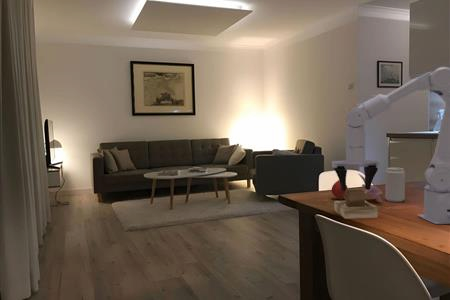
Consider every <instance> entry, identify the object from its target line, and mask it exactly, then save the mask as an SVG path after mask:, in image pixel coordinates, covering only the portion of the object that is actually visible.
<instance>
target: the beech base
mask: <svg viewBox="0 0 450 300" xmlns="http://www.w3.org/2000/svg"><path fill="white" fill-rule="evenodd" d="M333 205H334V206H333V209H334V212H336V214H338V215H339V216H341V217H342V218H344V219H345V220H347V219H348V220H349V219H350V220H351V219H378V214H379V213H378V211H379V208H378V206H377V205H375V204H372V203H371V202H368V201H367V200H365V207H348V206H346V205H345V200H334V203H333Z"/></svg>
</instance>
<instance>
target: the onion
mask: <svg viewBox="0 0 450 300" xmlns="http://www.w3.org/2000/svg"><path fill="white" fill-rule="evenodd" d="M346 190H348V185H347V184H346ZM345 192H346V191H343V190H341V184H340V181H339V179H338V180H337V181H335V182H334V183H333V185H332V186H331V193H332V195H333V196H334V197H335V198H336V199H338V201H342V200H343V198H344V199H345Z"/></svg>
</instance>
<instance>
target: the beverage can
mask: <svg viewBox="0 0 450 300" xmlns="http://www.w3.org/2000/svg"><path fill="white" fill-rule="evenodd" d="M405 178H406V172H405V169H404V168H402V167H387V168H386V170H385V184H384V185H385V195H384V197H385V200H387V202H390V203H391V202H392V203H401V202H403V201H405V194H406V193H405V192H406V191H405V190H406V187H405V183H406V181H405V180H406V179H405Z"/></svg>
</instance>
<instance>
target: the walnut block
mask: <svg viewBox="0 0 450 300" xmlns="http://www.w3.org/2000/svg"><path fill="white" fill-rule="evenodd" d="M344 199H345V200H344V201H345V205H346V206H348V207H365V201H366V194H365V190H363V189H362V190H361V189H359V188H357V189H356V188H355V189H352V188H351V189H350V188H349V189H348V190H346V192H345V197H344Z"/></svg>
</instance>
